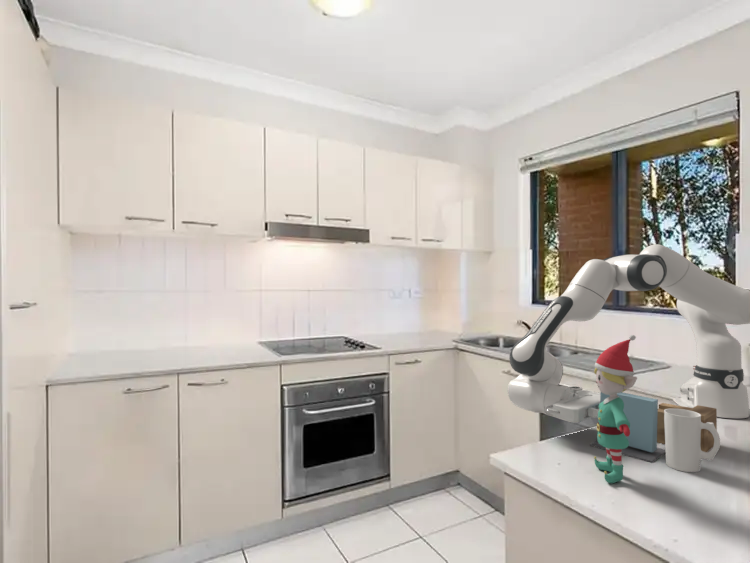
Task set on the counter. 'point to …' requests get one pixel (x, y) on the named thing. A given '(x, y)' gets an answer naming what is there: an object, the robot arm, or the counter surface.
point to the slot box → (706, 416)
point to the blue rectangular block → (640, 420)
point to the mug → (686, 439)
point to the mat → (637, 452)
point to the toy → (613, 406)
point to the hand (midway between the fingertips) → (614, 413)
